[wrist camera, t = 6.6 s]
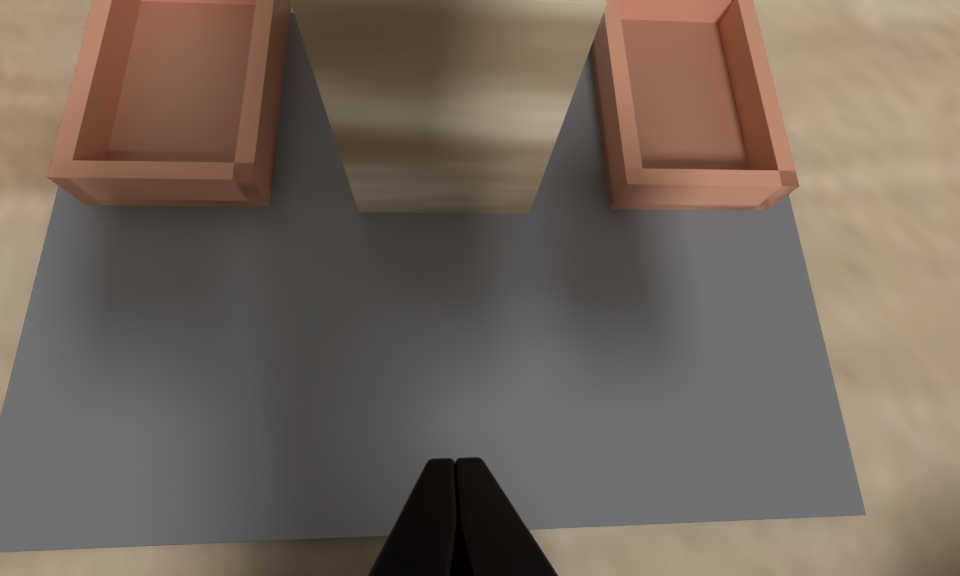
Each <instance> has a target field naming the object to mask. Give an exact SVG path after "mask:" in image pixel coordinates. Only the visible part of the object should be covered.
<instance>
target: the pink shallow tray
mask: <svg viewBox="0 0 960 576" xmlns="http://www.w3.org/2000/svg"><path fill="white" fill-rule="evenodd" d="M606 4H607V5H606V7H605V10H604V13H603V15H602V18H601V21H600V24H599V26H598V29H597V32H596V34H595V37H594V40H593V42H592V45H591V53H592V62H593V70H594V79H595V87H596V95H597V104H598V112H599V120H600V129H601V137H602V145H603V154H604V162H605V170H606V179H607V187H608V196H609V204H610V209H661V210H768V209H770V208H771V207H772V206H774V205H775V204H776V203H778V202H779V201H780V200H782V199H783V198H784V197H786V196H787V195H788V194H790V193H791V192H792V191H793V190H795V189H796V188H797V187H799V184H798V180H797V176H796V172H795V168H794V164H793V160H792V156H791V152H790V148H789V144H788V140H787V136H786V132H785V128H784V124H783V120H782V116H781V112H780V108H779V104H778V100H777V96H776V92H775V88H774V84H773V80H772V76H771V72H770V68H769V64H768V60H767V56H766V52H765V48H764V43H763V39H762V35H761V31H760V27H759V23H758V19H757V15H756V11H755V7H754V3H753V0H606Z"/></svg>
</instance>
